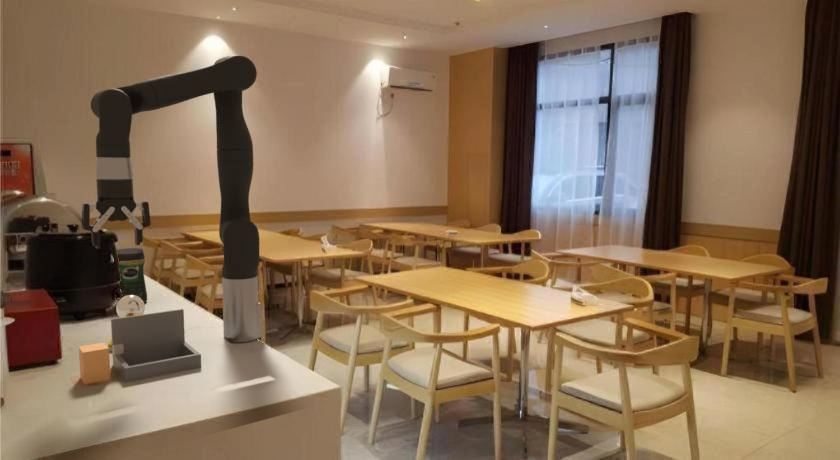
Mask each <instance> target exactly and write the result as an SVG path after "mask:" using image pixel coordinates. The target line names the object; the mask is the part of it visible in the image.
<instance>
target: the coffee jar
mask: <svg viewBox="0 0 840 460" xmlns="http://www.w3.org/2000/svg"><path fill="white" fill-rule="evenodd" d="M116 250H117V252H118V258H119V268H120V274H121V281H120V289H121V291H122V293H123V296H122V297H124V296H126V295H136V296H138V297H140V298H141V299H142V300H143V302H144V303H146V302H147V301H148V291H147V285H146V280H145V274H144V273H145V271H144V265H145V263H146V257H145V253H144V250H143V248H142V247H127V248H119V249H116ZM122 297H121V298H122ZM121 298H120V299H121ZM120 299H118V300H117V302H116V301H115V303H116V304H117V303H118V301H119V300H120Z"/></svg>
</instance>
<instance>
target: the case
mask: <svg viewBox="0 0 840 460" xmlns="http://www.w3.org/2000/svg"><path fill="white" fill-rule="evenodd" d="M184 310H185V309H184V308H180V309H171V310H165V311H158V312H153V313H152V312H151V313H150V312H149V313H143V314H142V315H135V316H128V317H121V318H120V317H116V318H110V327H111V328H110V329H111V330H110V331H111V339H112V351H111V353H112V366H113V367H114V369H115V370H116V371H117V373H118V374H119V375H120V376H121V378H122V379H123V380H124V382H125V383H129V382H135V381H139V380H143V379H144V380H145V379H149V378H153V377H158V376H159V377H160V376H163V375H168V374H169V375H170V374H174V373H178V372H183V371H184V372H185V371H188V370H192V369H198V368H201V367H202V354H201V353H200V352H199V351H197V350H196V349H195V348H194V347H192V346H191V345H190V343H188V342H187V341H185V338H186V337H185V315H184V314H185V311H184Z"/></svg>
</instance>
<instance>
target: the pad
mask: <svg viewBox="0 0 840 460" xmlns="http://www.w3.org/2000/svg"><path fill="white" fill-rule="evenodd" d="M70 379H71V380H72V383H73V384H74V386H75V389H76V390H78V389H82V388H88V387H92V386H93V387H94V386H97V385H103V384H107V383H112V382H119V379H118V377H117V376H116V375H115V373H114V372H113V370H112V369H110V380H105V381H100V382H95V383H90V384H85V385H84V383H83V381H82V379H81V377H80V375H75V376H70Z"/></svg>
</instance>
